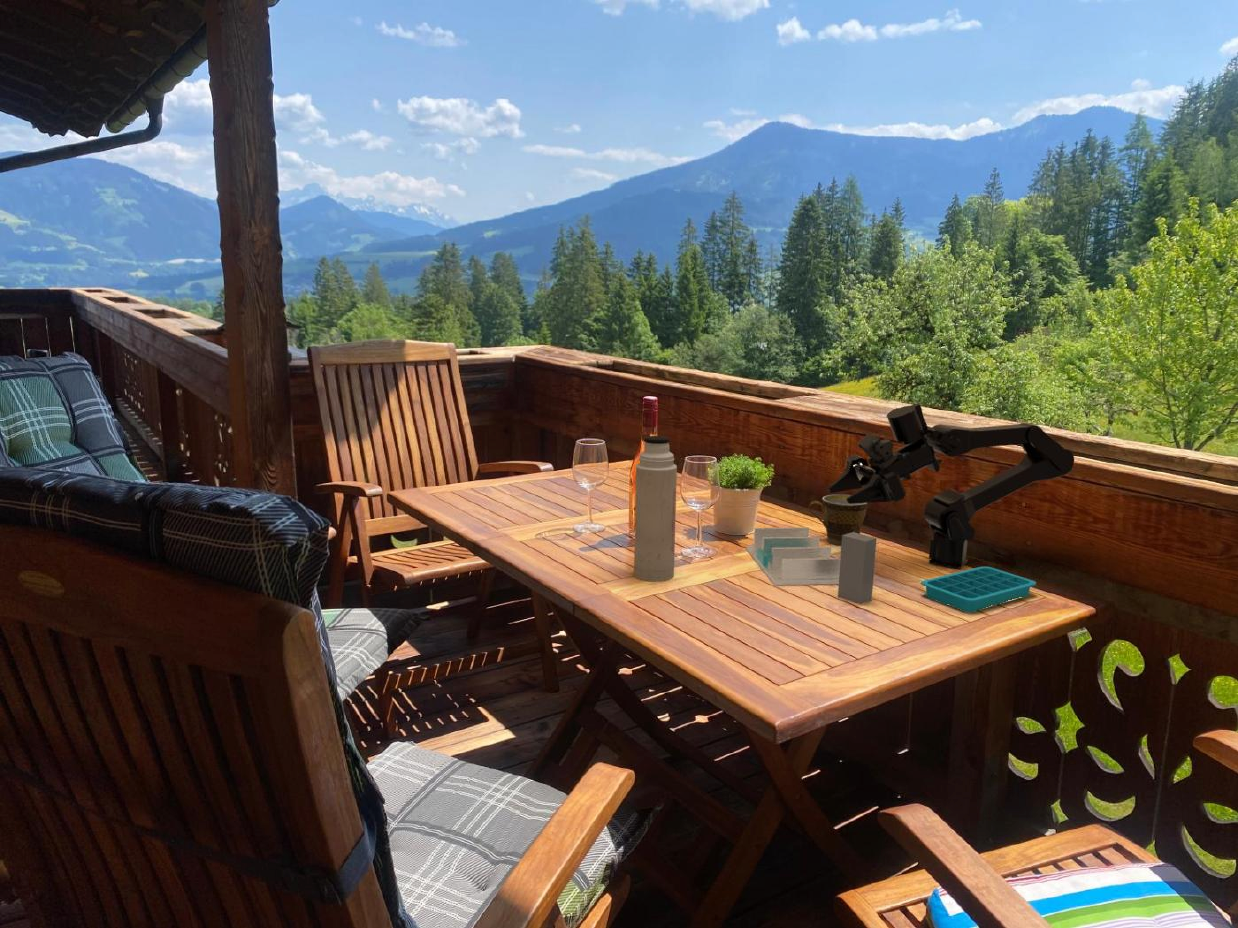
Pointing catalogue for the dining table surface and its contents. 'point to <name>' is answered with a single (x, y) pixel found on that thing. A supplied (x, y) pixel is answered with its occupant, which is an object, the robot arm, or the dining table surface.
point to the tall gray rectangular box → (857, 567)
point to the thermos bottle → (655, 511)
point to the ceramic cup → (840, 516)
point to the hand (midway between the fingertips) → (838, 495)
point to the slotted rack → (793, 557)
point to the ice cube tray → (977, 588)
